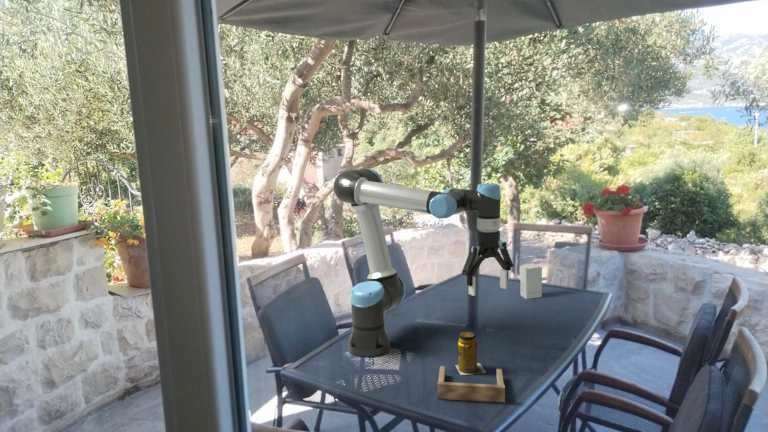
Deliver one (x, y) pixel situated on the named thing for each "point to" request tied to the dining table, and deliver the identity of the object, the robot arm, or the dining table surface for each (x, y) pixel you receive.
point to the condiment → (468, 355)
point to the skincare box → (531, 281)
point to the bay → (471, 389)
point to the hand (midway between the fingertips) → (487, 291)
